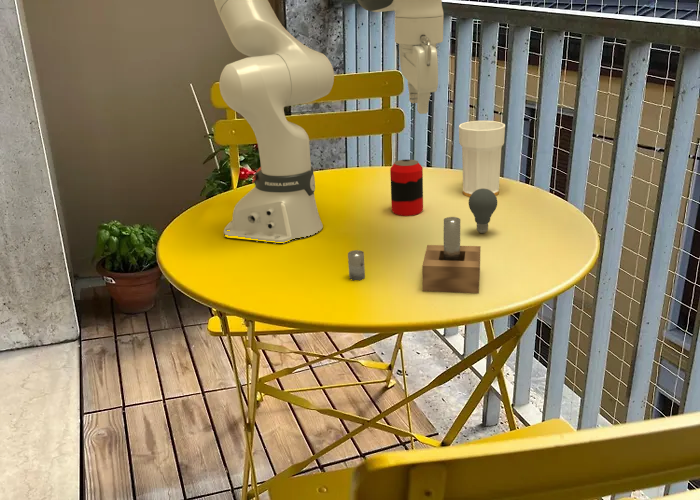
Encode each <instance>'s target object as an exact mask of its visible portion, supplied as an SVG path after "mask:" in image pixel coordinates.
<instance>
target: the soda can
mask: <svg viewBox="0 0 700 500" xmlns="http://www.w3.org/2000/svg"><path fill="white" fill-rule="evenodd" d="M389 171H390V172H389V173H390V175H389V176H390V197H391V199H390V200H391V201H390V202H391V203H390V204H391V205H390V206H391V212H392V213H393V214H394V215H396V216H403V217H411V216H416V215H420V214H421V213H422V212H423V211H424V186H423V185H424V179H423V177H424V176H423V175H424V173H423V172H424V171H423V166H422V165H421V164H420V163H419V161H418V160H416V159H400V160H396V161H394V163H393V164H392V165H391V167H390V170H389Z"/></svg>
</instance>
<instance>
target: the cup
mask: <svg viewBox="0 0 700 500" xmlns="http://www.w3.org/2000/svg"><path fill="white" fill-rule="evenodd" d="M505 133H506V124H505V123H503V122H501V121H500V122H499V121H494V120H472V121H467V122H462V123H460V124H459V126H458V138H459V139H458V140H459V141H458V142H459V143H458V144H460V147H461V150H462V153H461V156H462V158H461V159H462V161H461V162H462V163H461V164H462V165H461V166H462V194H463V195H464V196H465V197H469V198H470V196H471V194H472V193H473V192H474V191H476V190H478V189H488V190H490V191H492V192H493V193H494V194H495V196H496V197H497V196H498V195H499V191H500V190H499V189H500V175H501V160H502V159H501V158H502V147H503V146H504V145H505V135H506V134H505Z"/></svg>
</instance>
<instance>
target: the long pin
mask: <svg viewBox="0 0 700 500" xmlns="http://www.w3.org/2000/svg"><path fill="white" fill-rule="evenodd" d="M443 245H444V260H448V261H460V246H461V218H459V217H456V216H448V217H445V218H443Z"/></svg>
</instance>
